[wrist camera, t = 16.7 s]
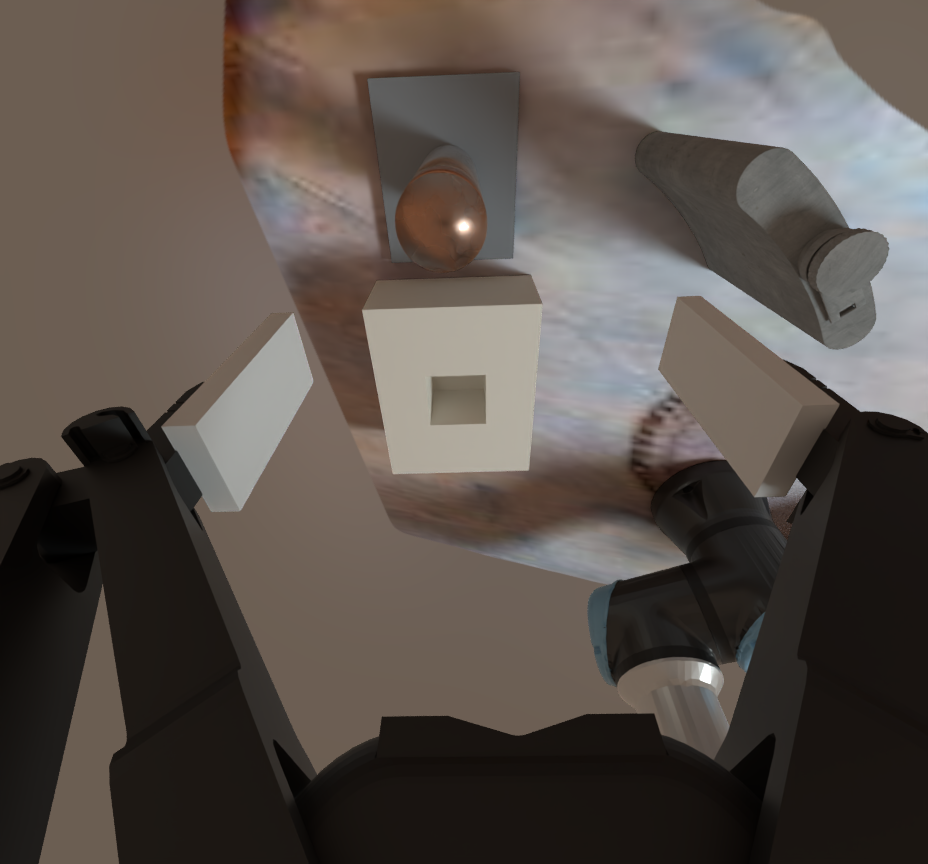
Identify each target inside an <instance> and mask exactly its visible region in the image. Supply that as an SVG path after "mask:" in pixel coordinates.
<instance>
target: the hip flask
mask: <svg viewBox="0 0 928 864" xmlns="http://www.w3.org/2000/svg"><path fill="white" fill-rule="evenodd" d="M635 163H636V166H637V168H638V170H639V171H640V172H641V173H643V174H644V175H645V176H646V177H647V178H649V179H650V180H651V181H652V182H653V183H654V184H655V185H656V186H657V187H658V188H659V189H660V190H661V191H662V192H663V193H664V194H665V195H666V196H667V197H668V198H669V200H670V201H671V202H672V203H673V205H674V206H675V207H676V208H677V210H678V211H679V213H680V214H681V215H682V217H683V218H684V220H685V221H686V223H687V224H688V226H689V227H690V229H691V230H692V232H693V234H694V236H695V238H696V239H697V241H698V243H699V246H700V248H701V250H702V252H703V255H704V257H705V260H706V263H707V266H708V268H709V269H710V270H712V271H713V272H715V273H716V274H718V275H719V276H721V277H722V278H724V279H725V280H727V281H728V282H730V283H731V284H733V285H734V286H736V287H737V288H739V289H740V290H742V291H743V292H745V293H746V294H748V295H749V296H751V297H752V298H754V299H755V300H757V301H758V302H760V303H761V304H763V305H764V306H766V307H767V308H769V309H771V310H772V311H774V312H775V313H777V314H778V315H780V316H781V317H783V318H784V319H786V320H787V321H789V322H790V323H792V324H793V325H795V326H796V327H798V328H799V329H801V330H802V331H804V332H805V333H807V334H808V335H810V336H811V337H813V338H814V339H816V340H817V341H819V342H820V343H822V344H823V345H825V346H826V347H828V348H830V349H844V348H847V347H850V346H852V345H854V344H856V343H858V342H859V341H860V340H862V339H863V338H864V337H865V336H866V335H867V334H868V333H869V332H870V331H871V329H872V328H873V326H874V324H875V321H876V310H875V303H874V297H873V292H872V287H871V283H870V281H871V280H872V279H873V278H874V277H875V276H876V275H877V274H878V273H879V271H880V270H881V269H882V267H883V265H884V263H885V262H886V258H887V256H888V251H889V247H888V244H889V243H888V242H887V239H886V238H885V237H884V236H883V235H882V234H879V233H878V232H873V231H872V230H867V229H860V228H858V229H850V228H849V227H848V225H847V223H846V221H845V219H844V217H843V216H842V214H841V212H840V211H839V209H838V207H837V205H836V204H835V202H834V201H833V199H832V198H831V197H830V195H829V194H828V192H827V191H826V189H825V188H824V187H823V185H822V184H821V183H820V182H819V180H818V179H817V178H816V177H815V175H814V174H813V173H812V172H811V171H810V170H809V169H808V168H807V166H806V165H805V164H804V163H803V162H802V161H801V160H800V159H799V158H798V157H797V156H796V155H795V154H794V153H793V152H792V151H790V150H789V149H786V148H781V147H774V146H766V145H759V144H751V143H743V142H736V141H728V140H720V139H713V138H705V137H697V136H690V135H682V134H674V133H667V132H653V133H651V134H649V135H648V136H646V137H645V138H644V139H643V140H642V141H641V143H640V144H639V146H638V148H637V151H636V155H635Z"/></svg>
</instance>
